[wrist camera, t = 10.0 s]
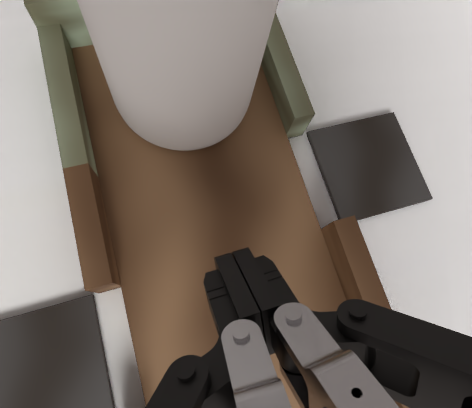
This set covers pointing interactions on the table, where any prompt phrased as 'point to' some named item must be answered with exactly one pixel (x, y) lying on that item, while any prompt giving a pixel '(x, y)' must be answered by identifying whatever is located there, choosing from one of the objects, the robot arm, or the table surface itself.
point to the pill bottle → (180, 64)
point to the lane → (192, 218)
